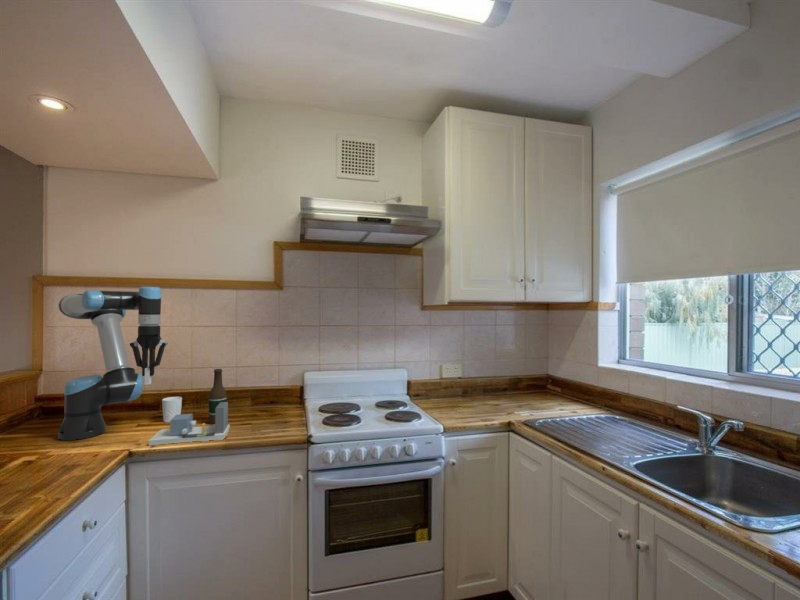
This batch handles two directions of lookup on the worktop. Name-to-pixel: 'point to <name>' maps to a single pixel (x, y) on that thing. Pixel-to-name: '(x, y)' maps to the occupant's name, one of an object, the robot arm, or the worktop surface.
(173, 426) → the carriage
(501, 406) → the worktop surface
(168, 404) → the white cup
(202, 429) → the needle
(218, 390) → the beer bottle
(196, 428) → the board
